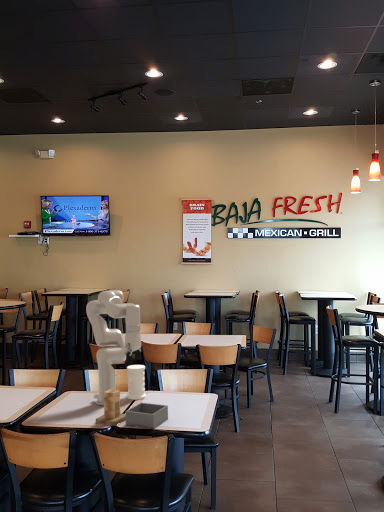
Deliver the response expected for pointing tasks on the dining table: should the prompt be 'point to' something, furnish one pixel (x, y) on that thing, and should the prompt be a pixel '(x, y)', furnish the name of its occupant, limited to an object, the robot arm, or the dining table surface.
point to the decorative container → (136, 382)
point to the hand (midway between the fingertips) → (133, 361)
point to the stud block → (111, 420)
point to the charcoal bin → (147, 415)
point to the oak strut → (112, 404)
